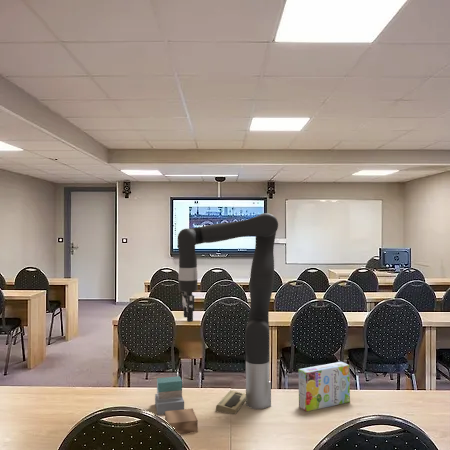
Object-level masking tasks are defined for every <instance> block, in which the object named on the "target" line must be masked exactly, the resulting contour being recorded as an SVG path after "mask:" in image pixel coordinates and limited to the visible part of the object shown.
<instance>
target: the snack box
mask: <svg viewBox="0 0 450 450" xmlns="http://www.w3.org/2000/svg"><path fill="white" fill-rule="evenodd" d="M297 378H298V407H299V408H301V410H303V411H305V412H310V411H315V410H316V411H317V410H320V409H325V408H328V407H334V406H337V405H341V404H347V403H350V402H351V389H350V388H351V387H350V385H351V384H350V383H351V380H350V378H351V376H350V364H348V363H346V362H343V361H336V362H332V363H327V364H319V365H315V366H309V367H304V368H298V377H297Z"/></svg>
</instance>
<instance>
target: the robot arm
mask: <svg viewBox="0 0 450 450" xmlns="http://www.w3.org/2000/svg"><path fill="white" fill-rule="evenodd" d="M278 229H279V221H278V219H277V217H276V216H275V215H274V214H272V213H268V212H265V213H261V214H259V215H257V216H254V217H251V218H248V219H244V220H243V219H242V220H237V221H228V222H222V223H221V222H220V223H213V224H208V225H204V226H199V227H189V228H182V229H181V230H180V231H179V232H178V234H177V235H178V236H177V249H178V255H179V259H178V291H179V292H182V303H181V305H182V307H183V318H186V321H187V323H191V322H194V312H195V295H193V292H196V291H198V285H199V284H198V266H197V265H198V262H197V261H198V259H197V253H196V246H197V245H201V244H211V243H218V242H224V241H227V240H228V241H229V240H232V239H237V238H243V237H244V238H245V237H255V247H254V251H253V257H252V262H251V268H250V274H249V275H250V277H249V297H250V308H249V316H248V321H247V324H246V328H245V331H244V332H245V336H244V337H245V339H244V341H245V343H244V344H245V345H244V348H245V353H244V354H245V394H246V401H245V406H247V408H250V409H254V410H263V409H267V408H268V407H271V406H272V381H271V380H270V321H269V319H270V318H269V316H270V315H269V313H270V312H269V309H270V302H271V298H272V295H273V294H272V293H273V289H274V282H275V281H274V280H275V279H274V278H275V256H274V255H275V254H274V247H275V240H276V235H277V231H278Z"/></svg>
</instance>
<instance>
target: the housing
mask: <svg viewBox="0 0 450 450" xmlns="http://www.w3.org/2000/svg"><path fill="white" fill-rule="evenodd" d="M156 394H157V398H158V402H160V401H171V400H181V399H182V397H183V380H182V378H181V376H179V375H178V376H168V377H158V378H156Z"/></svg>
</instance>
